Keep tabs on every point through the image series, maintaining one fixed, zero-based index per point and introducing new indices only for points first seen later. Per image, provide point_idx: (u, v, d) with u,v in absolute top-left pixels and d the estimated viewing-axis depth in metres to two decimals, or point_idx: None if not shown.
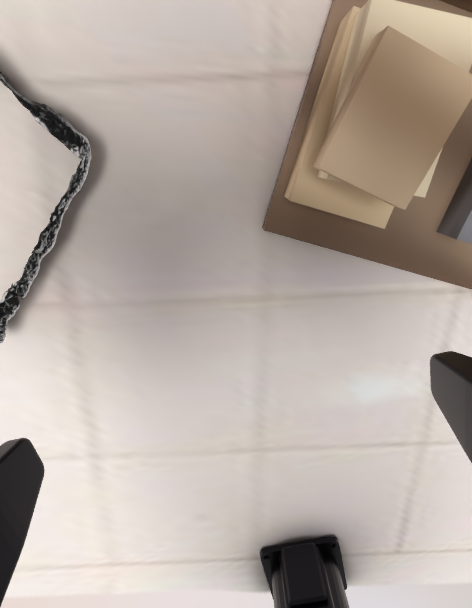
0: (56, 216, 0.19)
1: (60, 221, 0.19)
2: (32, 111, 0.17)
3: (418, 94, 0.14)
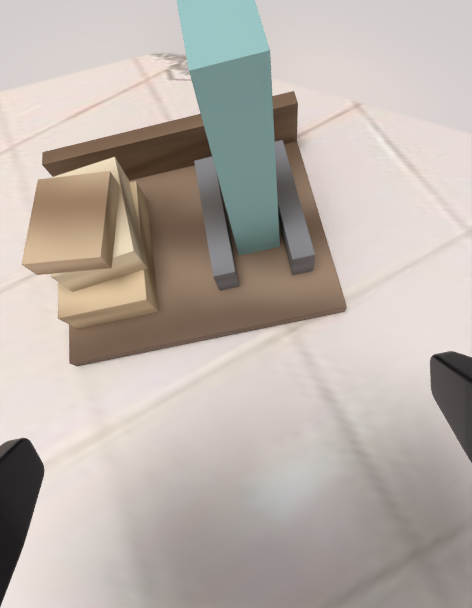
0: None
1: None
2: None
3: (72, 196, 0.19)
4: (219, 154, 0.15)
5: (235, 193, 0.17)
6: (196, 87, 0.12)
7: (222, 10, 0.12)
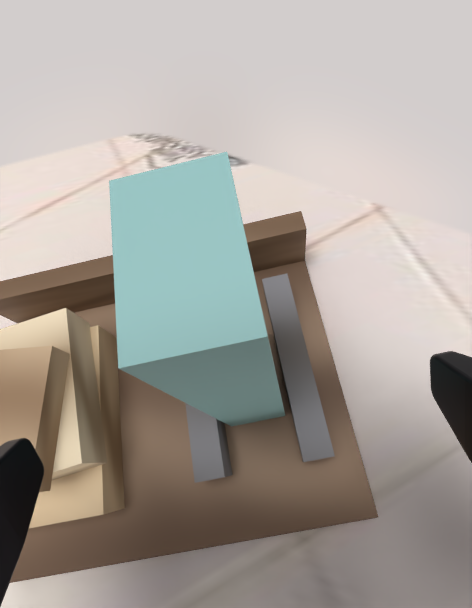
0: None
1: None
2: None
3: None
4: (191, 397, 0.09)
5: (220, 408, 0.12)
6: (137, 374, 0.07)
7: (185, 231, 0.07)
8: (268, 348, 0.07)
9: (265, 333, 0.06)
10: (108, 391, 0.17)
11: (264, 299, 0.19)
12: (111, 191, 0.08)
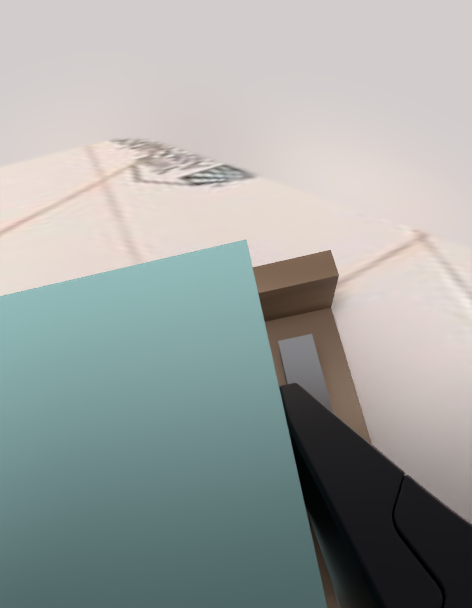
0: None
1: None
2: None
3: None
4: None
5: None
6: None
7: (135, 481, 0.03)
8: None
9: None
10: None
11: (279, 359, 0.15)
12: None
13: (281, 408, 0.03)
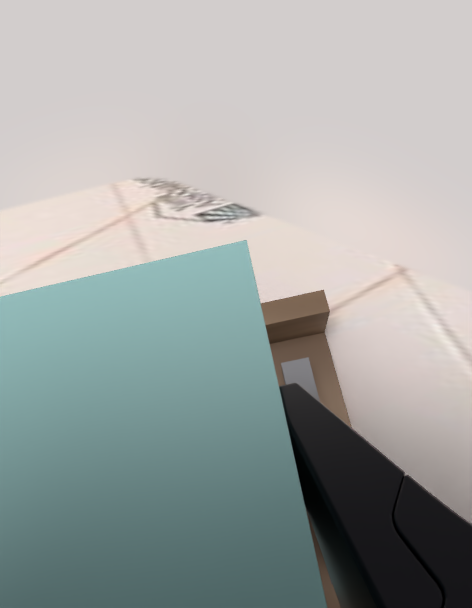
0: None
1: None
2: None
3: None
4: None
5: None
6: None
7: (136, 479, 0.03)
8: None
9: None
10: None
11: (281, 376, 0.18)
12: None
13: (281, 408, 0.03)
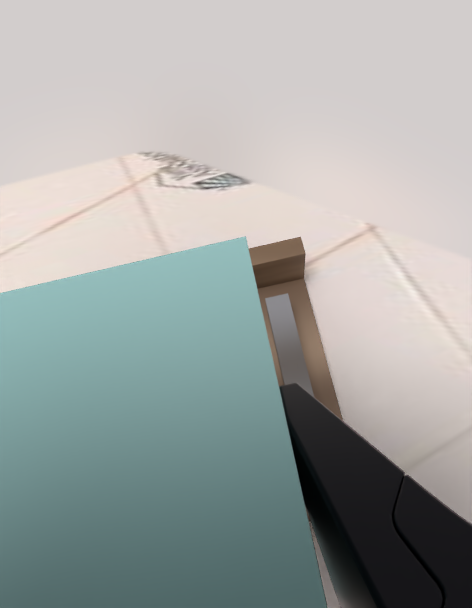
0: None
1: None
2: None
3: None
4: None
5: None
6: None
7: (134, 476, 0.03)
8: None
9: None
10: None
11: (267, 314, 0.21)
12: None
13: (280, 404, 0.03)
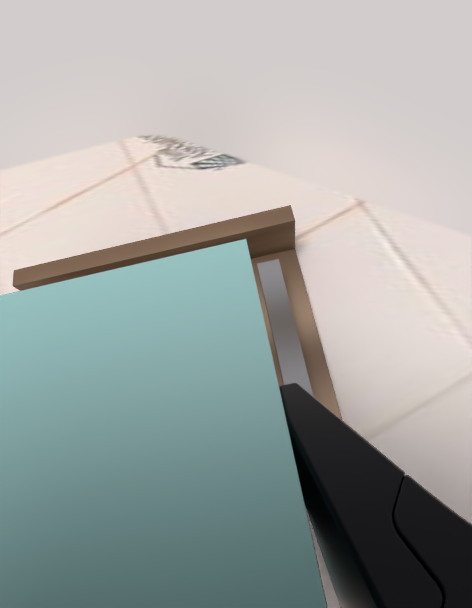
0: None
1: None
2: None
3: None
4: None
5: None
6: None
7: (135, 480, 0.03)
8: None
9: None
10: None
11: (259, 282, 0.22)
12: None
13: (281, 408, 0.03)
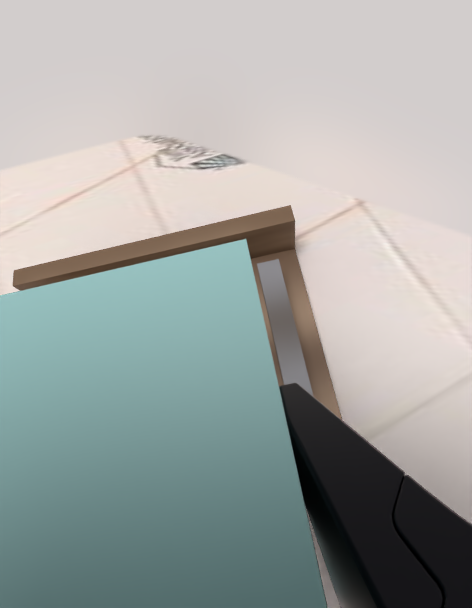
0: None
1: None
2: None
3: None
4: None
5: None
6: None
7: (135, 480, 0.03)
8: None
9: None
10: None
11: (259, 282, 0.22)
12: None
13: (281, 408, 0.03)
